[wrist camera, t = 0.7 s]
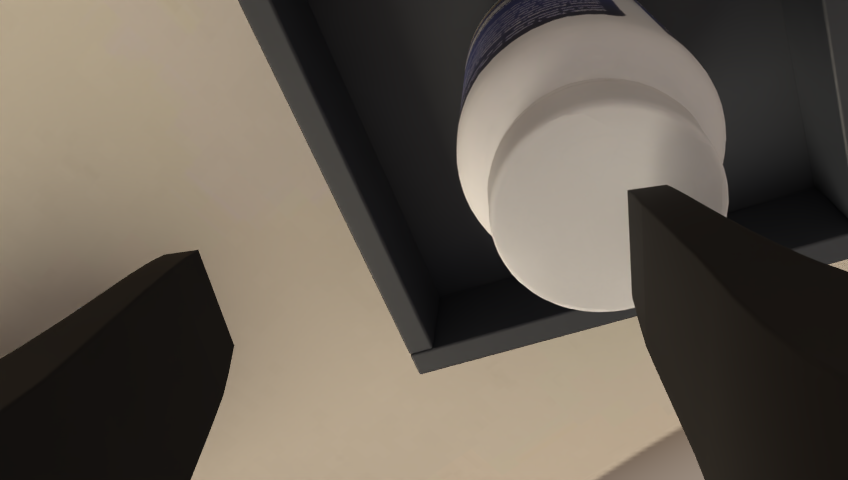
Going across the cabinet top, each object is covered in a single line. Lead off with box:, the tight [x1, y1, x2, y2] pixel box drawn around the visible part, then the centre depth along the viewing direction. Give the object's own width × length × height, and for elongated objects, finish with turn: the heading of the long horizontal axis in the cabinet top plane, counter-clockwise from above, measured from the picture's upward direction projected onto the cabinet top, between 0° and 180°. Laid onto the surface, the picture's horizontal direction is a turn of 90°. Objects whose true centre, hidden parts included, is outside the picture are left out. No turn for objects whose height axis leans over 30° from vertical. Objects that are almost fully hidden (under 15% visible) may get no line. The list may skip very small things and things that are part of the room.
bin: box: [238, 0, 848, 374], centre depth 20 cm, size 14×14×3 cm
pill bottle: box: [457, 0, 729, 312], centre depth 16 cm, size 5×5×10 cm
